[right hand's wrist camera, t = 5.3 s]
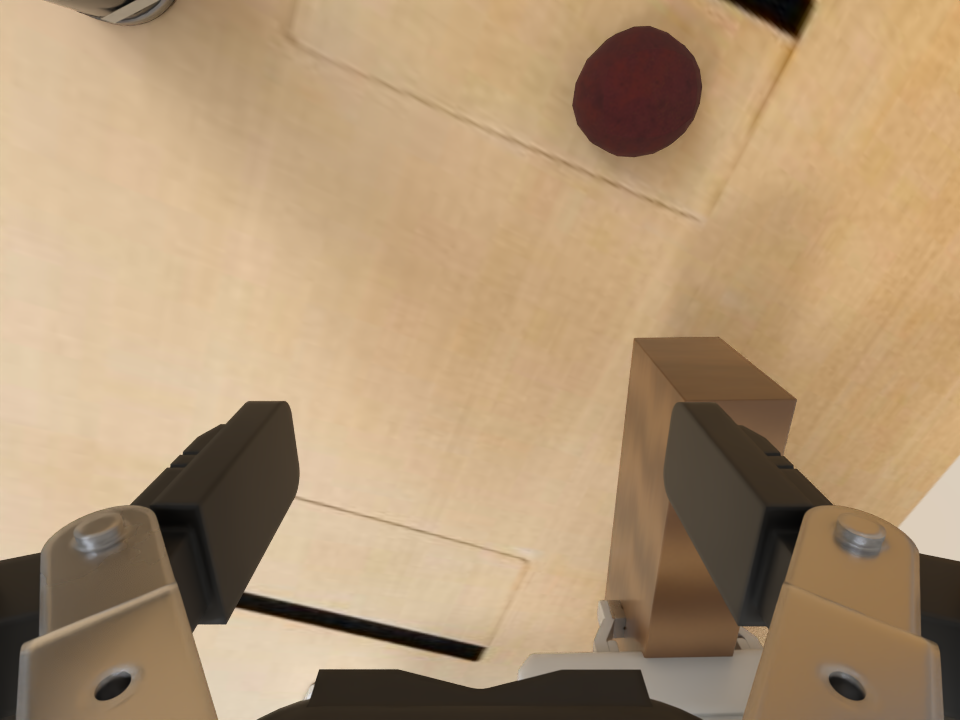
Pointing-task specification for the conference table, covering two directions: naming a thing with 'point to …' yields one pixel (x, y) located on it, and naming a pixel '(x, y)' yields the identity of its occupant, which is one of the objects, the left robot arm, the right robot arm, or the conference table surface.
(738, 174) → the conference table surface
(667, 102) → the maroon round ball
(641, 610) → the bar
